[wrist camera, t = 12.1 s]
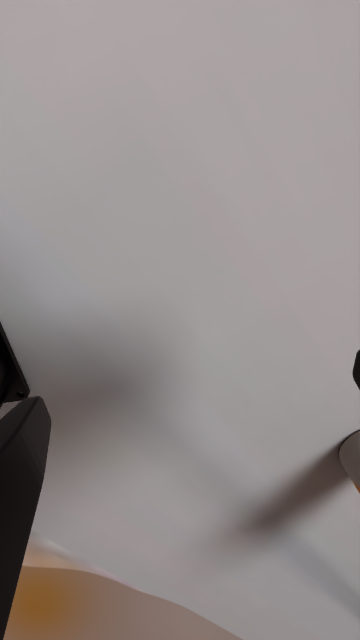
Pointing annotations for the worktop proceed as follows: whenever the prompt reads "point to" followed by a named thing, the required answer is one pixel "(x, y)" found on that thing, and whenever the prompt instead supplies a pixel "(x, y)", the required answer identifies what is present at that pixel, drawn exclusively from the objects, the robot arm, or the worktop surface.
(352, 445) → the lotion bottle
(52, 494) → the worktop surface
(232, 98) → the worktop surface
